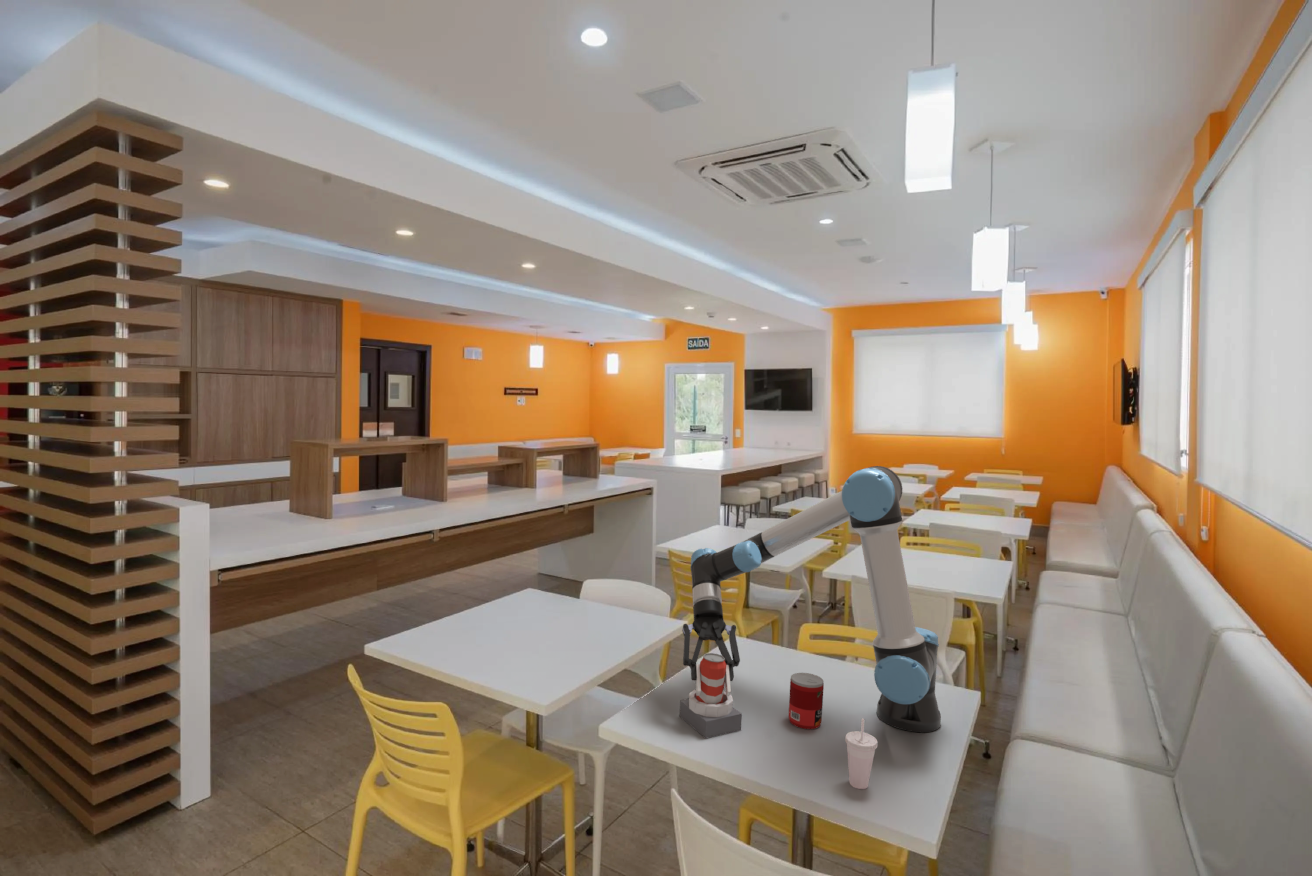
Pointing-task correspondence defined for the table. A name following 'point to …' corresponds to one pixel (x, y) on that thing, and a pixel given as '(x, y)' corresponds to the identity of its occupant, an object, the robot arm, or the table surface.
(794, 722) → the canned food
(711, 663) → the beverage can
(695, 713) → the mount
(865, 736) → the smoothie
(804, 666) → the table surface
